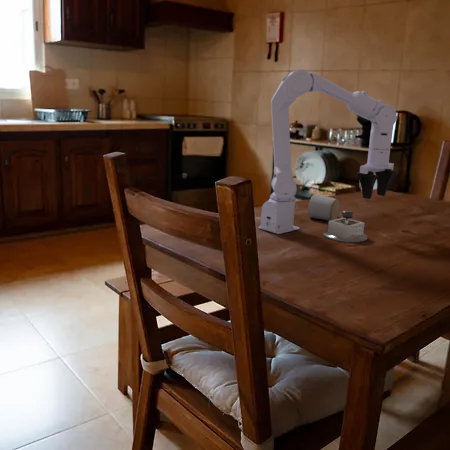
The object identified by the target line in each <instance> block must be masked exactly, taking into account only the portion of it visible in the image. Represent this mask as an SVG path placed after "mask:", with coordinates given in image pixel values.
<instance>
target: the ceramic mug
mask: <svg viewBox="0 0 450 450" xmlns="http://www.w3.org/2000/svg"><path fill="white" fill-rule="evenodd" d="M307 208H308V209H307V214H308V216H309V218H311V219H317V220H322V221H327V222H328V219H334V220H335V219H338V216H339V213H340V209H341V203H340V201H339V200H338V199H336V198H334V197H331V196H330V197H329V196H326V195H322V194H317V193H315V194H313V195H312V196H311V198H310V200H309V203H308V207H307Z"/></svg>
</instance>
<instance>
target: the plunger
mask: <svg viewBox="0 0 450 450" xmlns="http://www.w3.org/2000/svg"><path fill="white" fill-rule="evenodd" d="M341 218H345V224H346V225H348V220H349V219H352V218H354V211H353V210H347V209H346V210H342V211H341Z"/></svg>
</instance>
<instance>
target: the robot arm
mask: <svg viewBox="0 0 450 450" xmlns="http://www.w3.org/2000/svg"><path fill="white" fill-rule="evenodd" d="M307 92H309V93H310V92H311V93H312V92H313V93H314V92H315V93H316V92H319V93H323V94H324V95H327V96H329V97H330V98H333V99H336V100H337V101H339V102H342V103H344V104H345V105H346V108H347V110H348V111H349V112H351V113H353V114H355V115H357V116H359V117H361V118H363V119H366V120H367V121H370V123H371V127H370V128H371V129H370V136H369V145H368V153H367V162H366V163H365V164H364V165H363V164H362V165H360V167H359V171H358V172H357V173H356V176H357V178H358V181H359V183H360V187H361V193H362V199H368V200H371V198H372V195H373V193H374V187H375V184H376V194H377V196H381V197H385V196H386V194H387V191H388V189H389V186H390V184H391V181H392V180H393V178H395V177H394V176H395V175H396V171H394V168H395V167H394V165H395V163H394V162H393V163H392V162H389V161H390V153H391V145H392V144H391V143H392V137H393V128H394V127H393V126H394V125H395V123H396V122H397V120H398V115H397V110H395V107H393V106H392V105H390V104H389V105H388V104H384V102H383V101H384V100H382V99H381V98H380V99H376V98H373V97H372V96H370V95H368V92H367V91H365V90H362V91H360V90H356V91H354V92H351V91H349V90H347V89H345V88H343V87H341V86H340V85H338V84H336V83H334V82H332V81H331V80H329V79H327V78H325V77H323V76H322V75H319V74H316V73H313V72H309V71H308V70H305V69H297V70H293V71H291V72H289V73H288V74H287V75H285V77H283V78H282V79H281V82H280V84H279V85H278V87H277V89H276V91H275V93H274V94H273V96H272V97H271V100H270V110H271V111H270V112H271V128H272V129H271V130H272V145H273V146H272V147H273V149H272V150H273V165H274V166H273V177H272V179H271V188H272V191H273V192H272V193H271V194H270V195H269V199H268V200H266V201H265V202H264V203H263V204H262V206H261V212H260V213H261V215H260V225H259V226H258V229H260V230H264V231H266V232H270V233H274V234H276V235H277V234H278V235H281V234H284V233H288V232H293V231H297V230H300V227H299V226H295V225H294V224H295V223H294V219H295V209H296V208H295V207H296V196H295V195H296V194H297V188H298V187H297V184H296V182H295V181H294V175H293V170H292V169H293V168H292V157H291V156H292V154H291V137H290V136H291V135H290V134H291V133H290V114H289V108H290V106H291V105H292V104H293V103H294V102H295V101H296V100H297V99H298V98H299V97H302V96H304V95H305V94H307ZM374 173H375V174H374Z"/></svg>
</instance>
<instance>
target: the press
mask: <svg viewBox="0 0 450 450" xmlns="http://www.w3.org/2000/svg"><path fill="white" fill-rule="evenodd" d="M364 231H365V222H363V221H358V220H355V219H352V218H349V220H348V225H346V224H345V218H344V217H340V218H336V219H335V220H334V219H328V221H327V230H324V231H323V236H324V237H325V238H327V239H329V240H332V241H336V242H339V243H340V242H342V243H352V244H354V243H363V242H366V241H367V240H368V236H367V235H366V234H365V233H364Z"/></svg>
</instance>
